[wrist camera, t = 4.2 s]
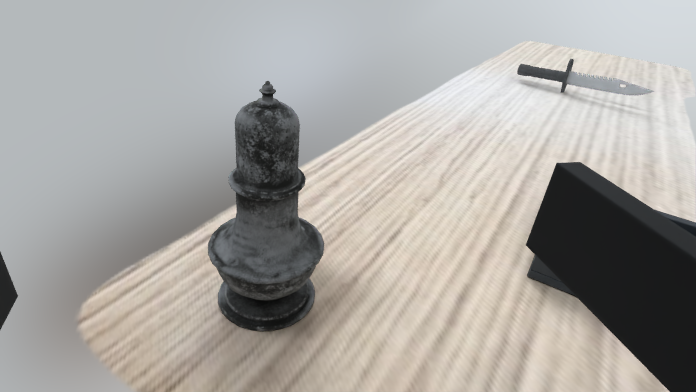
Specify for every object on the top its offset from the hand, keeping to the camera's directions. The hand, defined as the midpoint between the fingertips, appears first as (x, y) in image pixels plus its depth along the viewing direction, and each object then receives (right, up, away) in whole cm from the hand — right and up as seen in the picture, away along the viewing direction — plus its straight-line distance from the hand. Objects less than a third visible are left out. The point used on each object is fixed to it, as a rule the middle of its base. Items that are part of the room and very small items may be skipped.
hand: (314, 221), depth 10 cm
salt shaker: (-4, -5, +14) cm, 15 cm away
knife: (+36, +16, +57) cm, 69 cm away
